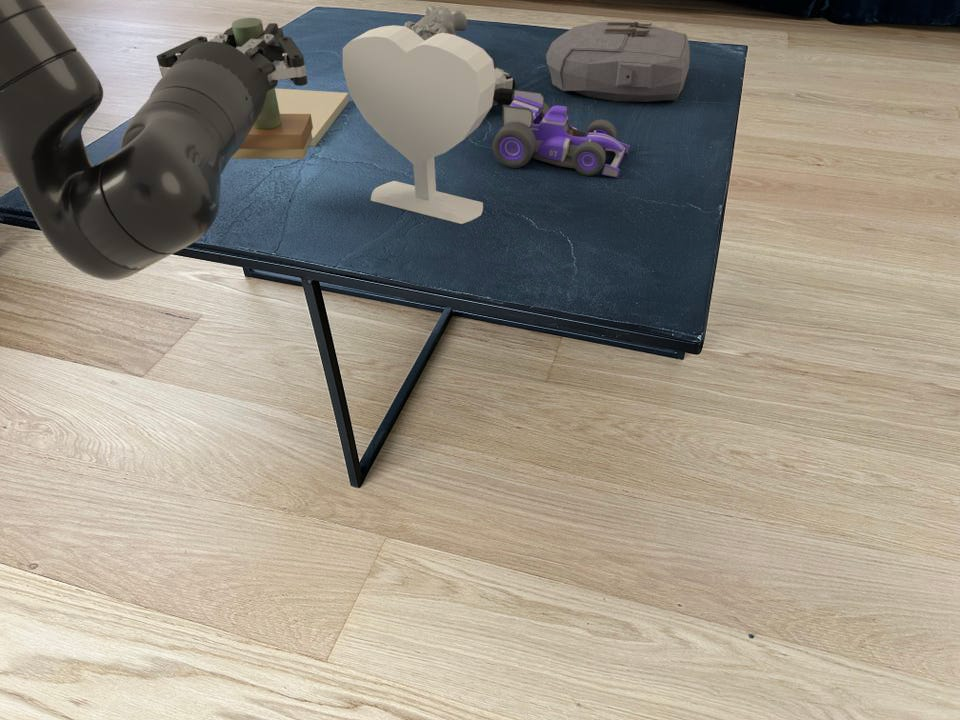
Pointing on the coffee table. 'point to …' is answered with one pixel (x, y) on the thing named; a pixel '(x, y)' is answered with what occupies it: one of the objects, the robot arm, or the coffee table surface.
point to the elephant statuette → (438, 22)
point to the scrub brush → (271, 116)
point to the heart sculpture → (420, 107)
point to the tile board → (313, 107)
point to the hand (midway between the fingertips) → (258, 33)
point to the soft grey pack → (620, 61)
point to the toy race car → (554, 138)
